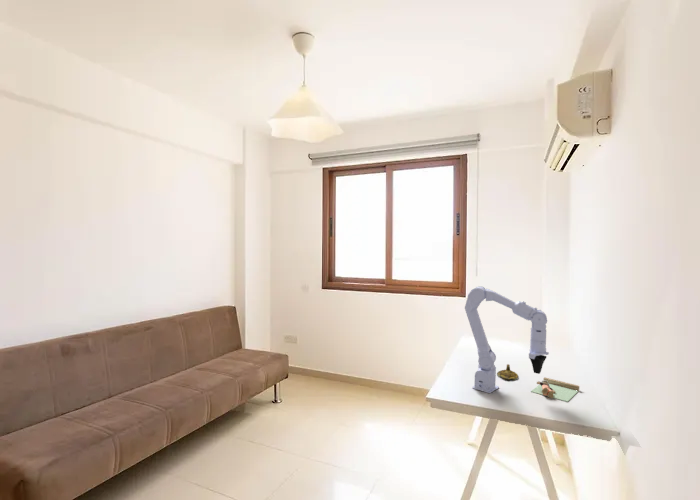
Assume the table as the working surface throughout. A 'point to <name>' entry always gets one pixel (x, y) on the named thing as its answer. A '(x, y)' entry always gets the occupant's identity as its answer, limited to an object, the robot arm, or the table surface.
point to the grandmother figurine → (546, 389)
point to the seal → (507, 374)
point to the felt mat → (557, 392)
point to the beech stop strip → (562, 384)
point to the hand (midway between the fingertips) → (537, 372)
